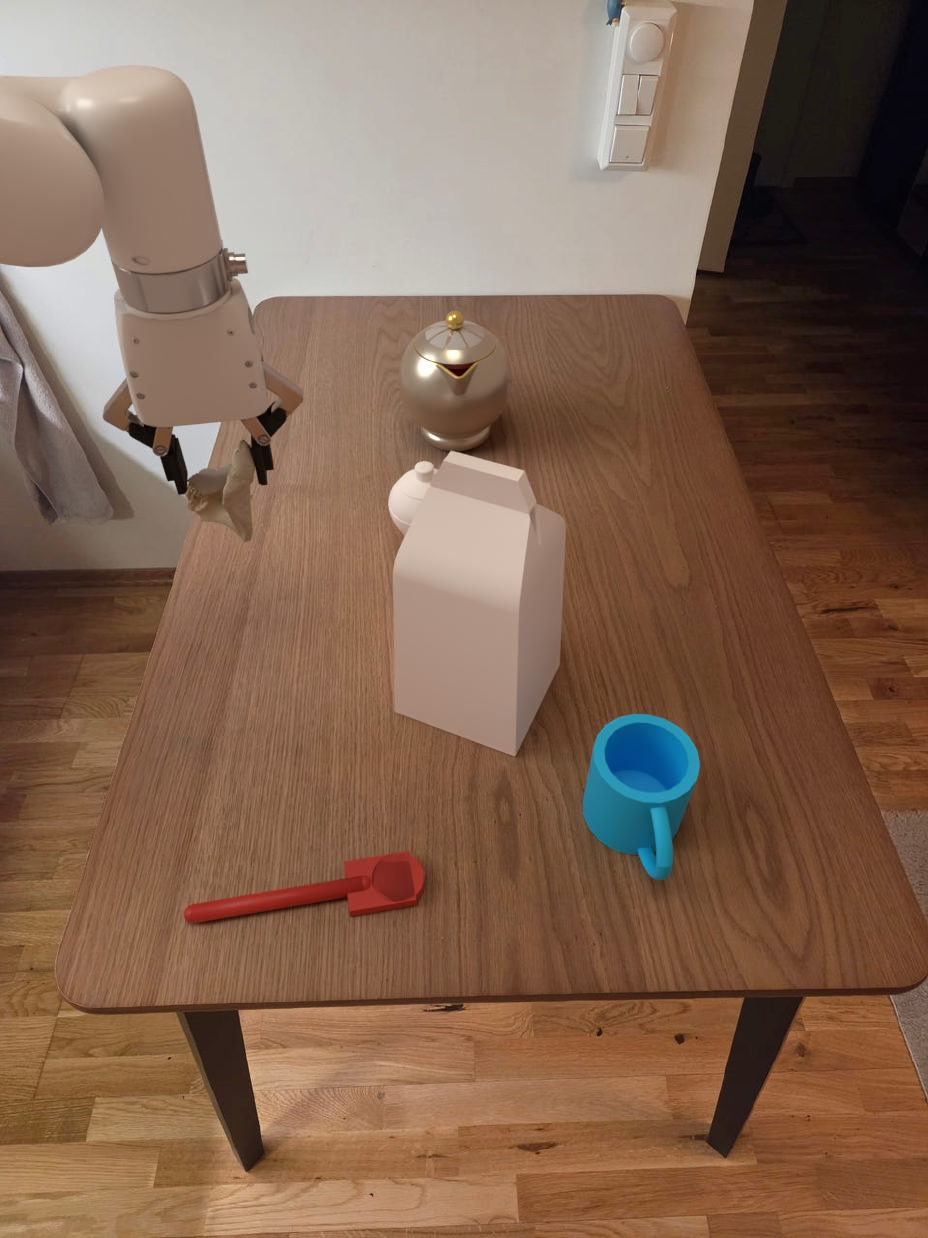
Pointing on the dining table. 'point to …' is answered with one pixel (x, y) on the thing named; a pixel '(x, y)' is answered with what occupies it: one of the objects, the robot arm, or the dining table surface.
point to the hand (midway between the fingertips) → (223, 478)
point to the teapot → (455, 382)
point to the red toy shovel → (333, 890)
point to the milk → (478, 604)
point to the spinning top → (410, 494)
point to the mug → (640, 788)
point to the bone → (225, 493)
